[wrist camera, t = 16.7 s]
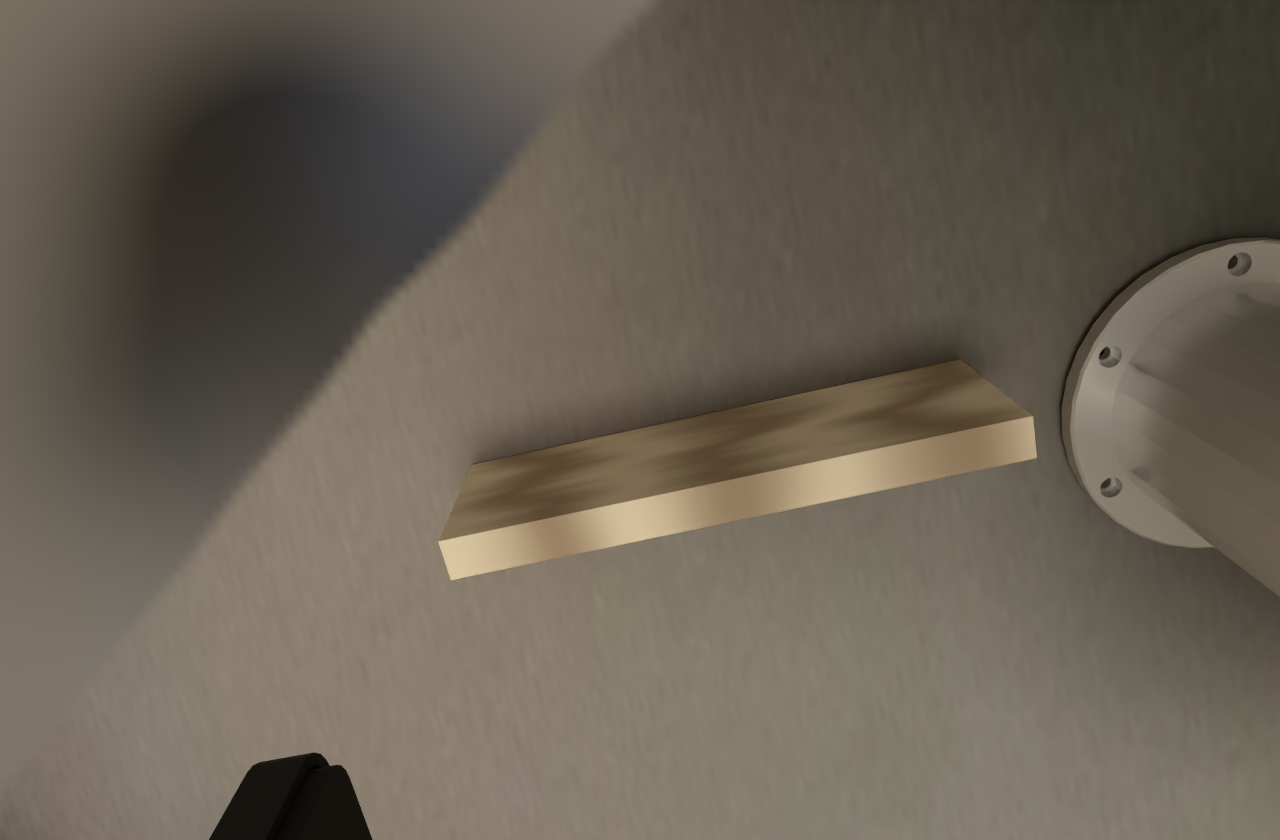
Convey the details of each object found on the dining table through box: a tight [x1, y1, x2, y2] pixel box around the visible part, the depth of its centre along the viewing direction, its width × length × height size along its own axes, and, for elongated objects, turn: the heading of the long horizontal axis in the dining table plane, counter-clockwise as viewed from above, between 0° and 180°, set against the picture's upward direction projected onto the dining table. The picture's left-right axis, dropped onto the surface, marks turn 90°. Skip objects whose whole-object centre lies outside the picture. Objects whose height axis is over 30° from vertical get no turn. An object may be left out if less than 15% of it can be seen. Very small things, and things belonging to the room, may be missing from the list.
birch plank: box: [438, 359, 1037, 580], centre depth 34 cm, size 20×2×7 cm, turn 103°
